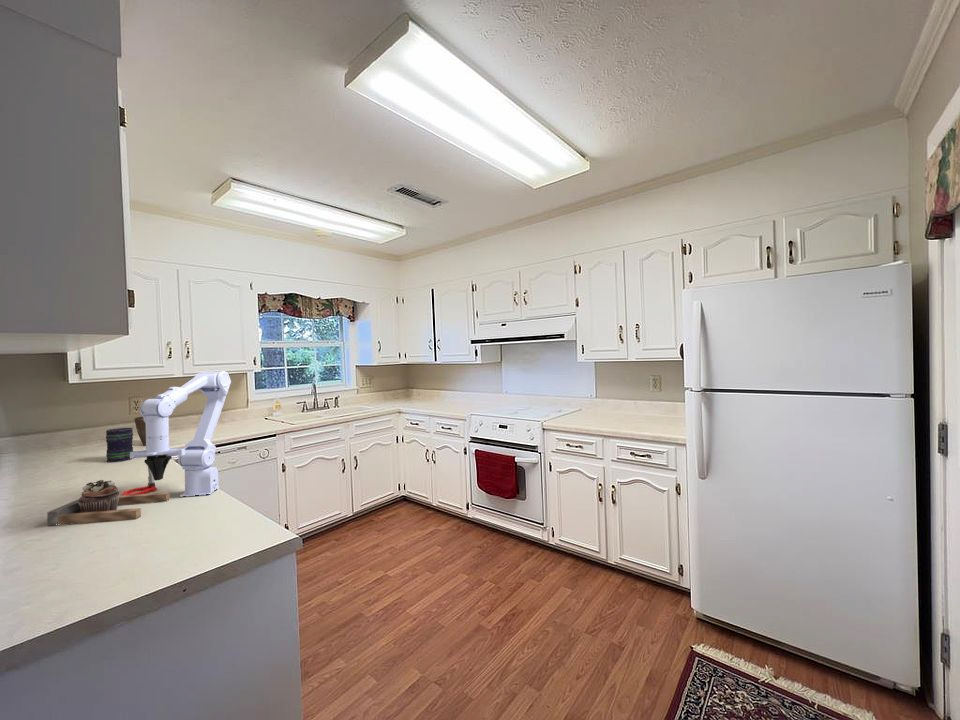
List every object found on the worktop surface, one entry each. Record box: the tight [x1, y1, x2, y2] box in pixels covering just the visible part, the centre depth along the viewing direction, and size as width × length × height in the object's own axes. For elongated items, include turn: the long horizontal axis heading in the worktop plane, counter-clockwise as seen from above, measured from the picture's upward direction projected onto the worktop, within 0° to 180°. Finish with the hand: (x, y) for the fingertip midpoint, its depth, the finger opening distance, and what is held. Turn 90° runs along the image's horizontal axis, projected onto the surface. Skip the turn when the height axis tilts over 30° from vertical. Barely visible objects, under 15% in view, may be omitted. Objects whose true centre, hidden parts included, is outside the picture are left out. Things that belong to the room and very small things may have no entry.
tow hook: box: [120, 466, 158, 496], centre depth 145 cm, size 8×13×9 cm
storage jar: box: [105, 427, 134, 464], centre depth 196 cm, size 10×10×15 cm
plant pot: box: [134, 416, 146, 447], centre depth 234 cm, size 15×15×16 cm
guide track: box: [46, 491, 171, 526], centre depth 126 cm, size 22×17×4 cm
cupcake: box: [77, 479, 121, 513], centre depth 125 cm, size 10×10×10 cm
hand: (158, 479), depth 127 cm, fingers closed
